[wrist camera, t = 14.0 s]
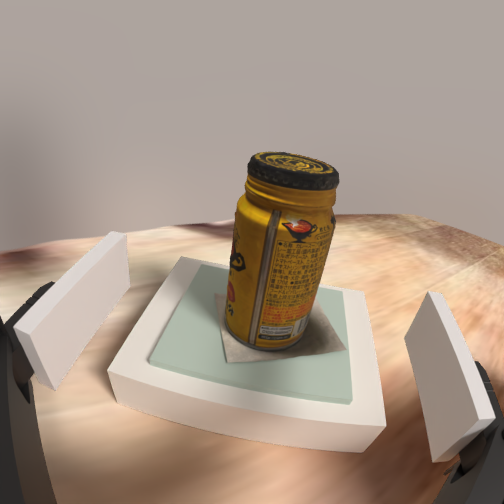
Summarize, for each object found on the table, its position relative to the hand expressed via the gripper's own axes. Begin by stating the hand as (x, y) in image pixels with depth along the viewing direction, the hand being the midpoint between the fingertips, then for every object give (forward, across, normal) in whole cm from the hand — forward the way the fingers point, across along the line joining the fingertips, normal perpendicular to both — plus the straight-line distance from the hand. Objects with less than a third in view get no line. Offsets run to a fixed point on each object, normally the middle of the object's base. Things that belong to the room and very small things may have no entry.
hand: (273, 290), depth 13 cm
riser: (+7, 0, -13) cm, 15 cm away
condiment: (+8, +1, -8) cm, 11 cm away
